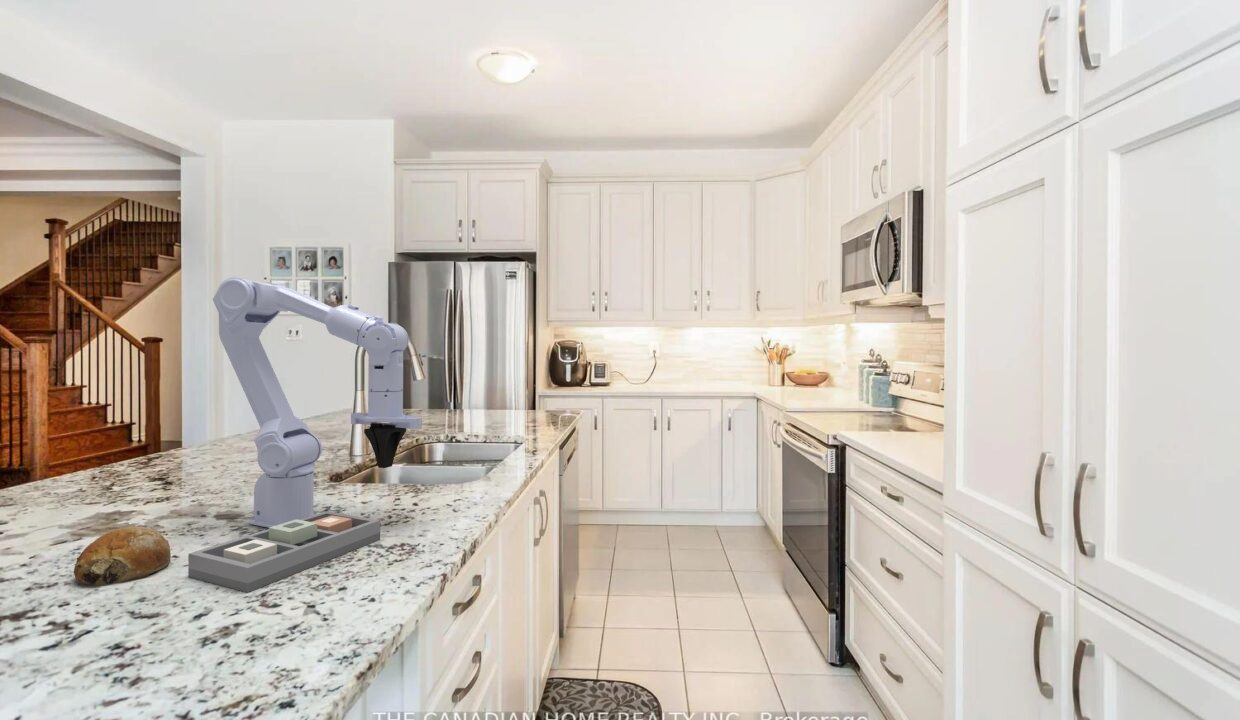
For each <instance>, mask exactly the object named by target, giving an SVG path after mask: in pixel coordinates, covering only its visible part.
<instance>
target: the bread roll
mask: <svg viewBox="0 0 1240 720" xmlns="http://www.w3.org/2000/svg"><path fill="white" fill-rule="evenodd" d="M171 554H172V553H171V546H170V543H169V540H168V539H166V537H164V536H163V535H162V534H161V533H159V532H158V531H157V530H155V529H152V528H149V527H146V526H139V525H137V526H135V525H134V526H133V525H132V526H125V527H120V528H119V527H118V528H116V529H114V530H111V531H108V532H106V533H104V534H103V535H101V536H98V538H96V539H94V541H92V542H91V543H89V544H88V545H87V546H86V547H85V548H84V549H83V551H82V552H81V553H80V554H79V556H78V557H76V563H75V566H74V569H73V575H74V578H75V580H76V581H78V583H80V584H83V585H88V586H104V585H105V586H106V585H112V584H119V583H124V582H130V581H132V580H136V579H142V578H145V577H148V576H149V575H151V574H154V573H157V572H159V571H161V570H163V569H165V568H166V567H167V566H168V565H169V564H170V563H171V559H172V557H171V556H172V555H171Z"/></svg>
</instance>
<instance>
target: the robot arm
mask: <svg viewBox="0 0 1240 720" xmlns="http://www.w3.org/2000/svg"><path fill="white" fill-rule="evenodd" d="M212 301H213V303H214V306H215V308H216V310H217V312H218V335H219V340H220V342H221V343H222V346H223V348H224V351H225V352H226V354H227V357H228V360H229V362H230V364H231V366H232V367H233V370H234V372H235V374H236V377H237V379H238V381H239V383H240V385H241V388H242V390H243V393H244V394H245V396H246V398H247V400H248V404H249V405H250V407H251V410H252V413H253V414H254V416H255V418H256V421H257V423H258V425H259V430H258V432H257V434H256V436H255V438H254V444H255V446H256V450H257V458H256V459H257V463H258V466H259V468H260V469H261V471H263V472H264V473H263V474H260V476H259V477H258V479H257V480H256V482H255V484H254V486H253V487H254V488H253V519H251V520H249V522H248V524H249V525H253V526H258V527H263V528H267V529H269V528H270V527H273V526H276V525H280V524H283V523H286V522H289V521H293V520H296V519H297V520H300V519H303V518H306V517H310V516H313V515H316V514H317V513H314V505H315V503H314V495H315V494H314V491H315V490H314V487H315V486H314V481H315V480H314V475H315V474H314V473H315V472H314V470H315V463H316V462H318V460H319V459H320V457H321V456H322V451H323V450H322V449H323V448H322V442H321V440H320V439H319V438H318V437H317V436H316V435H315V434H314V433H313V432H312V431H311V429H310V428H309V427H308V423H306V422H305V421H304V420H301V419H300V418H299V417H297V416H296V415H295V414H294V412H293V409H292V407H291V405H290V403H289V401H288V399H287V397H286V394H285V391H284V390H283V387H282V386H281V384H280V382H279V379H278V377H277V375H276V373H275V371H274V368H273V366H272V364H271V361H270V359H269V356H268V355H267V353H266V351H265V348H264V346H263V344H262V342H261V340H260V336H261V334H262V332H263V331H264V330H265V328H267V326H269V324H271V322H272V321H273V320H274V319H276V317H277V316H279V314H280V313H281V312H290V313H294V314H297V315H300V316H302V317H305V318H307V319H311V320H313V321H316V322H318V323H321V324H324V325H325V326H326V329H327V331H328V333H329V334H330V335H332V336H334V337H337V338H339V339H342V340H344V341H345V342H349V343H352V344H354V345H356V346H357V347H358V346H359V347H361V348H364V350H365V352H366V353H367V354H368V355H367V356H368V361H367V362H368V368H367V369H368V370H367V371H368V376H367V377H368V378H367V379H368V383H367V385H368V386H367V394H368V395H367V405H368V406H367V412H353V413H350V424H351V425H368V426H369V427H368V428H364V430H363V434H364V435H365V436H366V438H367V439H368V441H369V443H370V446H371V448H372V451H373V454H374V457H375V461H376V465H377V467H378V468H379V469H387V468H391V467H393V464H394V460H395V457H396V453H397V450H398V447H399V446H400V442H401V441H402V439H403V437H404V435H405V433H407V429H409V430H418V429H419V430H420V429H422V426H423V425H422V417H419V416H413V415H407V414H404V351H405V350H407V347H408V346H409V342H410V341H409V334H408V332H407V330H406V329H405V328H404V327H403V326H401V325H399V324H398V323H396V322H387V323H386V322H384V321H383V320H384V318H383V317H382V316H379V315H375V316H374V315H370V314H368V313H365V312H363V311H360V310H359V309H360V306H358V305H355V304H352V303H351V304H348V305H347V304H341V305H338V306H335V307H333V306H330V305H328V304H326V303H323V302H321V301H320V300H316V299H315V298H312V297H310V296H308V295H306V294H304V293H302V292H299V291H298V290H295V289H293V288H290V287H287V286H281V285H277V284H276V283H272V282H262V281H256V280H251V279H246V278H242V277H240V276H233V277H228V278H226V279H224V280H223V281H222V282H221V284H219V286H218V288H217V290H216V291H215V294H214V296H213V298H212Z"/></svg>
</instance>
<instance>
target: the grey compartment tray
mask: <svg viewBox="0 0 1240 720" xmlns="http://www.w3.org/2000/svg"><path fill="white" fill-rule="evenodd" d="M315 514H316V515H313V516H310V517H306V518H303V519H300V520H302V521H308V522H313V521H316V520H319V519H322V518H325V517H328V516H332V515H333V516H338V517H344V518H350V519H352V528H350V529H347V530H345V531H342V532H339V533H337V532H331V531H326V530H321V529H317V536H316V537H314V538H311V539H308V540H305V541H302V542H299V543H296V544H293V545H291V544H286V543H281V542H276V541H272V540H269V528H267V529H264V530H261V531H258V532H254V533H252V534H247V535H245V536H242V537H241V536H240V537H238V538H235V539H234V538H233V539H231V540H228V541H225V542H221V543H219V544H215V545H212V546H209V547H204V548H202V549H199V550H195V551H191V552H189V553H188V555H187V556H188V557H187V558H188V560H187V562H188V563H187V564H188V566H187V567H188V568H187V569H188V570H187V571H188V574H187V577H188V578H191V579H195V580H199V581H203V582H207V583H210V584H214V585H217V586H221V587H224V588H229V589H232V590H237V591H240V592H243V593H251V592H253V591H255V590H257V589H260V588H262V587H265V586H267V585H271V584H273V583H275V582H277V581H280V580H283V579H285V578H287V577H290V576H292V575H296V574H298V573H301V572H302V571H305V570H308V569H310V568H312V567H316V566H317V565H320V564H322V563H326V562H327V561H330V560H333V559H335V558H337V557H340V556H342V555H345V554H348V553H350V552H352V551H355V550H358V549H360V548H362V547H365V546H368V545H370V544H373V543H375V542H377V541H381V520H380V519H375V518H369V517H365V516H357V515H352V514H346V513H342V512H341V513H340V512H336V511H335V512H334V511H329V510H328V511H327V510H326V511H323V512H319V513H315ZM253 540H260V541H265V542H269V543H274V544H277V555H274V556H271V557H269V558H266V559H263V560H260V561H257V562H254V563H252V564H248V563H244V562H239V561H235V560H231V559H227V558H223V557H224V549H227V548H230V547H234V546H237V545H240V544H243V543H246V542H249V541H253Z"/></svg>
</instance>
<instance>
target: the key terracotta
mask: <svg viewBox="0 0 1240 720" xmlns="http://www.w3.org/2000/svg"><path fill="white" fill-rule="evenodd" d="M313 523H317V529H321V530H326V531H331V532H337V533H339V532H342V531H345V530H347V529H350V528H352V519H350V518H344V517H338V516H333V515H332V516H328V517H325V518H322V519H319V520H316V521H313Z"/></svg>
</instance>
